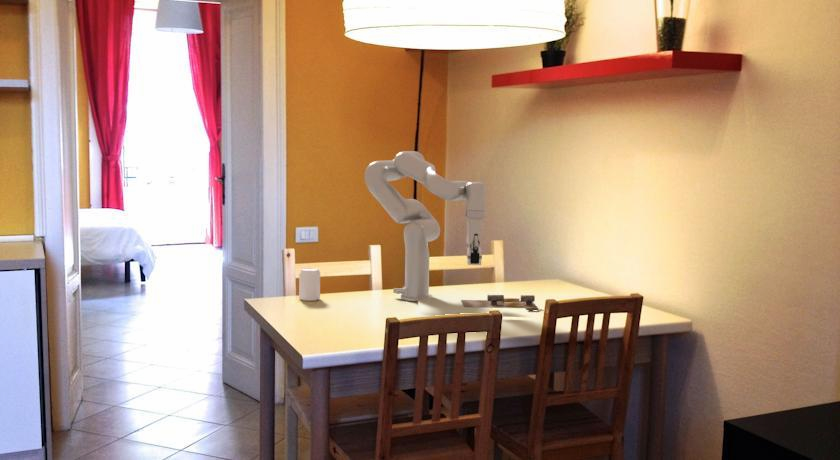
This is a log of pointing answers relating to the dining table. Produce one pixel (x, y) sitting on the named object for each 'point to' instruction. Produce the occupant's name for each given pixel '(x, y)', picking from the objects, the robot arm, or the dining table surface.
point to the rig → (503, 302)
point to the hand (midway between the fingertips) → (473, 261)
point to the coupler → (470, 256)
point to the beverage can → (309, 284)
